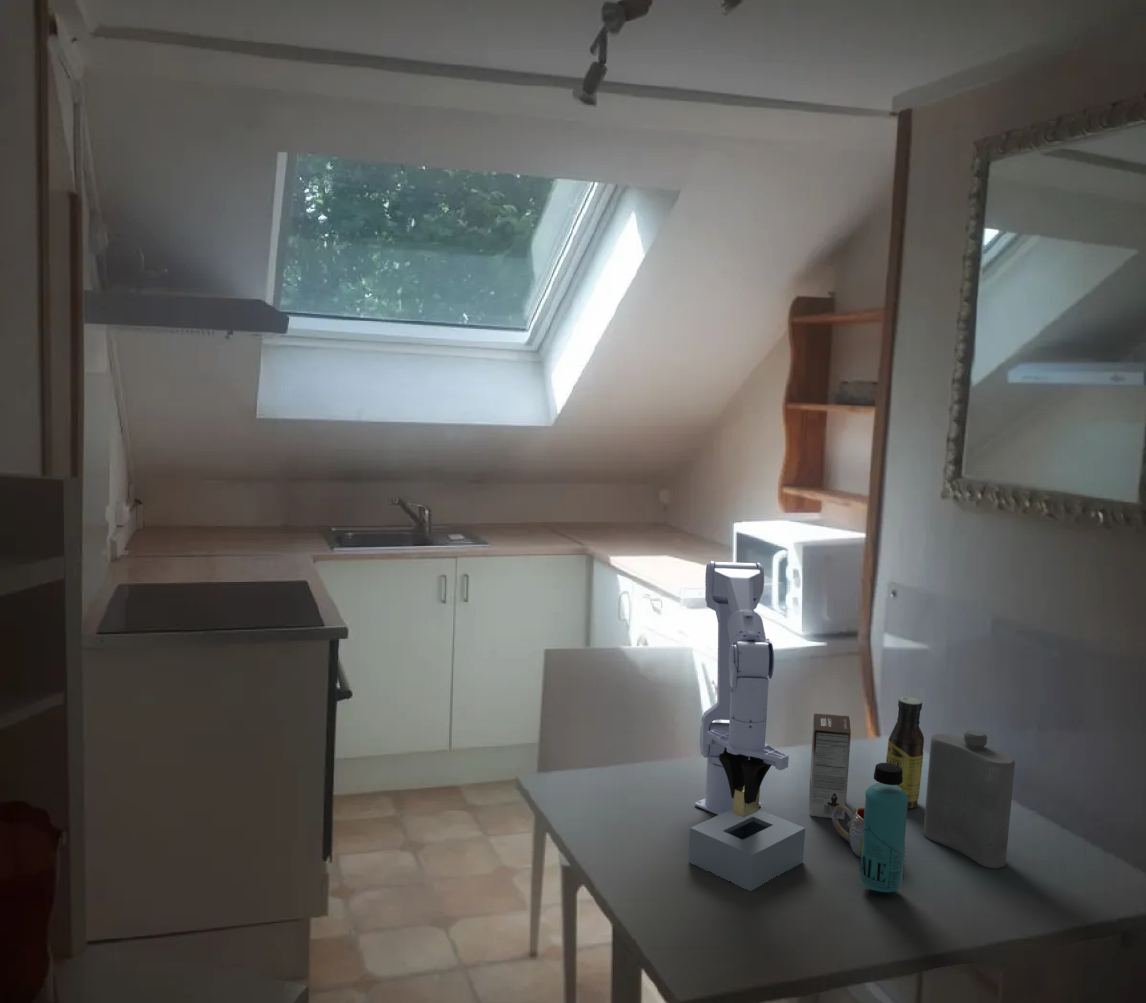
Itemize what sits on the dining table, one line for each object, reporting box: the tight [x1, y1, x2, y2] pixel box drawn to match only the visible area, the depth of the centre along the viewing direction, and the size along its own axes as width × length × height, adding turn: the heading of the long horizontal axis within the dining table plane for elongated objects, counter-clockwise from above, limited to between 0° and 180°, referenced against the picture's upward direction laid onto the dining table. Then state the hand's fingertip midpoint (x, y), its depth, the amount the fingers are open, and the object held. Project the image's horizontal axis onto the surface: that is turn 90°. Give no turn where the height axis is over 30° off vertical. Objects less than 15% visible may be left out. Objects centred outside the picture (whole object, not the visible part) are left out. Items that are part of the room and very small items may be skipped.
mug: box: [831, 805, 865, 858], centre depth 172 cm, size 12×7×7 cm, turn 31°
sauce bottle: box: [885, 696, 925, 810], centre depth 188 cm, size 7×6×20 cm
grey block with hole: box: [688, 809, 806, 892], centre depth 165 cm, size 14×12×6 cm
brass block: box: [733, 786, 761, 818], centre depth 165 cm, size 4×2×4 cm, turn 134°
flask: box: [923, 729, 1016, 870], centre depth 171 cm, size 15×6×20 cm, turn 31°
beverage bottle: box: [858, 762, 909, 893], centre depth 156 cm, size 6×7×20 cm
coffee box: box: [808, 713, 852, 820], centre depth 186 cm, size 9×6×16 cm
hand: (743, 799), depth 164 cm, fingers closed on brass block, 2 cm apart
